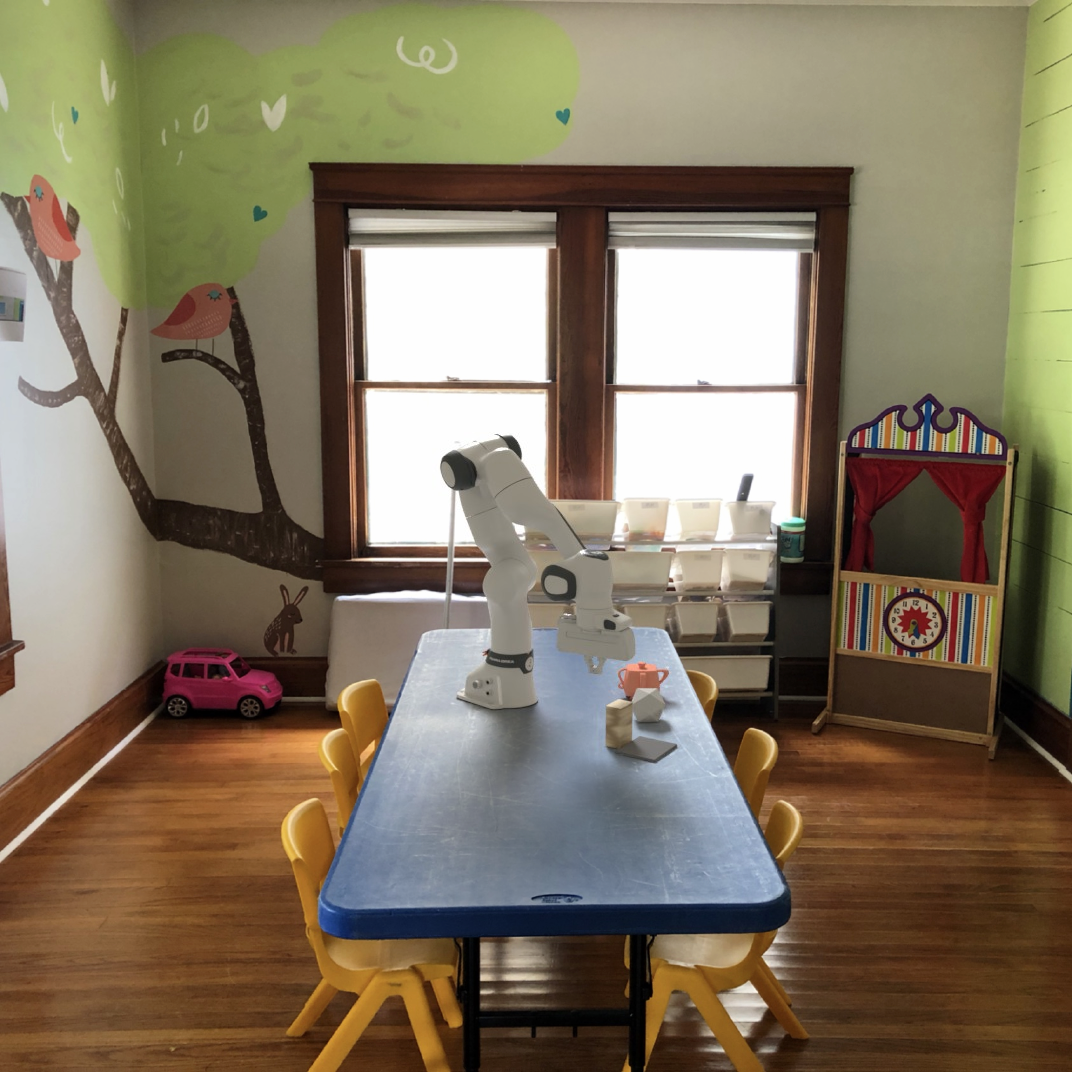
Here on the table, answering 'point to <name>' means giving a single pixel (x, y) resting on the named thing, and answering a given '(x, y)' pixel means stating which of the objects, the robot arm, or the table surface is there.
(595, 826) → the table surface
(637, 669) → the teapot
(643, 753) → the rubber mat
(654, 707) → the die
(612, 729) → the maple block
